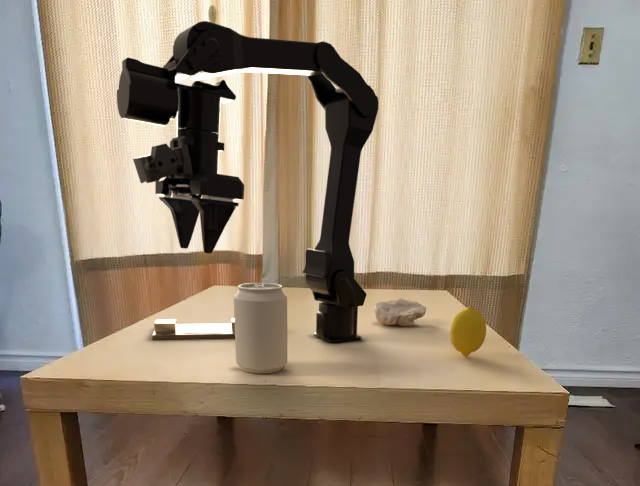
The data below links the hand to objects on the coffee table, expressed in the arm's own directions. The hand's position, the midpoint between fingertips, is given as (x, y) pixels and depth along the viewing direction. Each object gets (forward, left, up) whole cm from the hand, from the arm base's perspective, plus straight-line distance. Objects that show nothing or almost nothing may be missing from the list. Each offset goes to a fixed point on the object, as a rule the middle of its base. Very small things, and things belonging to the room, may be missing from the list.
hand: (195, 250), depth 84 cm
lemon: (-38, +18, -16) cm, 45 cm away
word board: (-8, -15, -16) cm, 23 cm away
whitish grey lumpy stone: (-44, -8, -16) cm, 47 cm away
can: (-6, +10, -16) cm, 20 cm away
